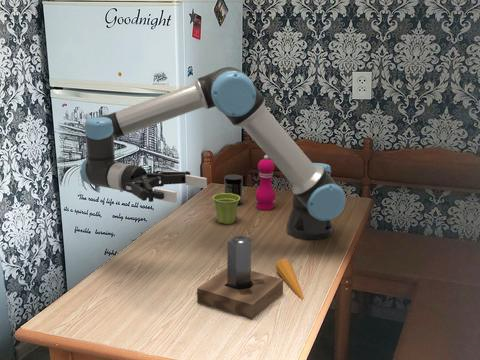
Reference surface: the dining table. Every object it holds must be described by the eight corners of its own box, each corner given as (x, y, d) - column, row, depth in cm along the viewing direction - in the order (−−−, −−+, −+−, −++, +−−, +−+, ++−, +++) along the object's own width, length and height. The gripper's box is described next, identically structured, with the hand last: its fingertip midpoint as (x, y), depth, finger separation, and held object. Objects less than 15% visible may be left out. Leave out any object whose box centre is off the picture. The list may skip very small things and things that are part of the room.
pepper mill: (273, 211, 216) (274, 158, 210) (253, 210, 217) (254, 156, 211) (276, 205, 223) (277, 153, 217) (257, 203, 224) (258, 152, 218)
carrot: (277, 273, 170) (271, 260, 168) (291, 266, 170) (286, 254, 168) (299, 313, 152) (294, 300, 150) (315, 306, 152) (310, 293, 150)
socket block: (197, 302, 151) (197, 288, 150) (230, 278, 164) (231, 265, 163) (252, 319, 143) (252, 304, 142) (282, 293, 156) (283, 279, 155)
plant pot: (234, 215, 212) (234, 191, 209) (243, 224, 204) (244, 200, 201) (209, 218, 209) (209, 194, 206) (217, 227, 200) (217, 203, 198)
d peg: (227, 299, 153) (227, 241, 148) (237, 291, 157) (238, 234, 152) (244, 304, 150) (244, 245, 145) (254, 296, 154) (255, 238, 150)
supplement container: (239, 207, 220) (239, 180, 217) (222, 205, 222) (222, 178, 219) (244, 201, 226) (244, 175, 223) (227, 200, 228) (227, 173, 225)
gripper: (157, 179, 176) (217, 190, 166) (97, 203, 156) (162, 218, 145) (156, 155, 174) (217, 164, 164) (95, 176, 154) (160, 189, 143)
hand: (191, 190), depth 154 cm, fingers open, 13 cm apart
